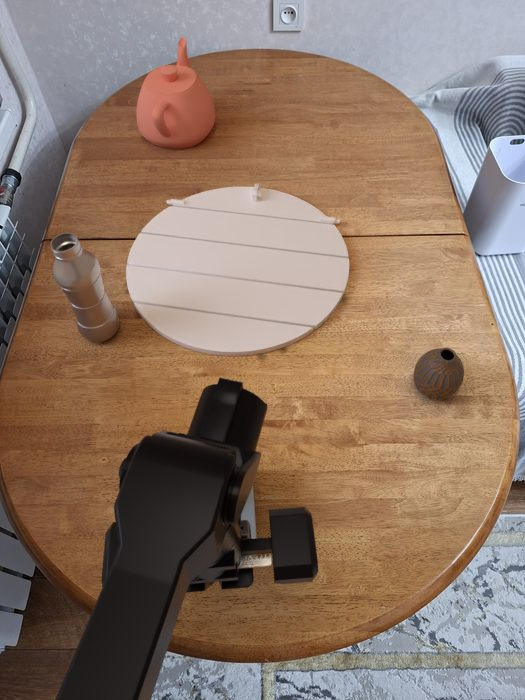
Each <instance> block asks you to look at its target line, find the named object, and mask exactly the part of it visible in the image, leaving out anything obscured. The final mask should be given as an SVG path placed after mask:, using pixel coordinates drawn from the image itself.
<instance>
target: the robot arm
mask: <svg viewBox="0 0 525 700" xmlns="http://www.w3.org/2000/svg"><path fill="white" fill-rule="evenodd" d="M268 408H269V407H268V404H267V402H265V401H264V400H262V398H261V397H260V396H259V395H256V394H255V393H254V392H252V391H251V390H248V389H246V388H244V383H243V381H238V380H235V379H230V378H226V377H225V378H224V377H219V378H218V381H217V383H214V384H213V383H212V384H210V385H207V386H206V387H204V388H203V389H202V391H201V394H200V397H199V400H198V402H197V405H196V408H195V411H194V413H193V416H192V419H191V422H190V425H189V428H188V430H187V433H181V432H175V431H170V430H165V429H163V430H161V431H157V432H154V433H153V434H152V435H149V434H147V435H145V436H144V437H143V438H142V439H141V440H140V442H138V443H136V444H135V445H134V446H132V447H131V449H130V450H129V452H128V453H127V455H126V457H125V458H123V460H122V462H121V463H120V465H119V468H118V478H119V482H118V489H119V490H118V493H117V496H116V499H115V501H114V505H113V512H114V519H115V521H112V523H111V524H110V526H109V527H108V528H107V530H106V532H105V534H104V545H103V558H102V568H101V590H100V593H99V595H98V597H97V599H96V601H95V604H94V606H93V609H92V611H91V614H90V616H89V619H88V621H87V623H86V625H85V627H84V631H83V633H82V635H81V637H80V640H79V642H78V645H77V647H76V649H75V651H74V654H73V656H72V659H71V661H70V663H69V666H68V668H67V671H66V673H65V675H64V677H63V680H62V682H61V685H60V687H59V689H58V692H57V694H56V697H55V699H54V700H152V698H153V694H154V691H155V688H156V686H157V682H158V680H159V676H160V673H161V669H162V668H163V664H164V660H165V657H166V654H167V651H168V648H169V645H170V642H171V640H172V636H173V633H174V630H175V628H176V624H177V621H178V618H179V615H180V612H181V609H182V605H183V603H184V600H185V597H186V594H187V593H196V592H206V590H208V589H209V588H210V587H211V586H213V585H214V584H215V583H219V585H220V589H221V590H232V589H245V588H250V587H251V586H252V585H253V584H254V580H255V576H254V569H256V568H257V569H258V568H269V567H272V570H273V583H274V584H276V585H277V584H278V585H290V584H291V585H293V584H302V583H312V582H313V581H314V579H315V578H316V577H317V575H318V573H319V561H318V560H319V559H318V553H317V552H318V551H317V546H316V545H317V544H316V537H315V529H314V528H315V527H314V520H313V516H312V512H310V510H309V509H308V508H306V507H305V506H299V507H287V508H274V509H273V508H272V509H268V521H269V532H270V536H268V537H257V538H255V539H252V538H251V528H250V524H249V521H248V520H241V514H242V511H243V509H244V506H245V504H246V501H247V499H248V496H249V493H250V491H251V488H252V486H254V483H255V480H256V476H257V473H258V470H259V465H260V461H261V457H262V452H261V451H257V447H258V444H259V441H260V437H261V433H262V431H263V426H264V422H265V419H266V415H267V413H268V412H267V411H268ZM255 554H258V555H256V558H254V556H253V555H255ZM267 554H268V555H267ZM259 555H260V556H259ZM263 555H264V557H263Z"/></svg>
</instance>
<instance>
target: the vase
mask: <svg viewBox="0 0 525 700" xmlns="http://www.w3.org/2000/svg"><path fill="white" fill-rule="evenodd" d="M464 377H465V366H464V363H463V361H462V359H461V358H460V356H459V355H458V354H457V353H456V351H455V350H454V349H452V348H450V347H441V348H440V347H439V348H438V347H437V348H434V349H430V350H428V351H426V352H425V353H424V354H422V356H421V357H419V359H418V360H417V362H416V364H415V366H414V370H413V382H414V385H415V387H416V389H417V391H418V392H419V393H420V394H421V395H422V396H424V397H425V398H427V399H430V400H434V401H441V400H445V399H448V398H451V397H452V396H454V395H455V394H456V393H457V392H458V391H459V389H460V388H461V387H462V384H463V382H464V379H465V378H464Z"/></svg>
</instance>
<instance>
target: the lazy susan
mask: <svg viewBox="0 0 525 700" xmlns="http://www.w3.org/2000/svg"><path fill="white" fill-rule="evenodd" d="M166 205H169V206H167V207H165V208H164V209H163V210H161V211H160V212H159V213H157V214H156V215H155V216H154V217H153V218H151V220H149V221H148V222H147V224H146V225H144V227H143V228H142V229H141V230H140V233H138V235H137V237H136V238H135V240H134V241H133V243H132V245H131V247H130V251H129V253H128V256H127V260H126V261H127V262H126V267H125V278H126V286H127V289H128V293H129V296H130V299H131V301H132V303H133V304H132V305H134V308H135V310H136V311H137V312H138V314H139V315H140V317H141V318H142V319H143V321H144V322H145V323H146V324H148V326H149V327H150V328H151V329H152V330H154V331H155V332H156V333H157V334H158V335H160V336H161V337H163V338H165V339H167V340H168V341H170V342H172V343H174V344H176V345H177V346H180V347H182V348H185V349H188V350H191V351H195V352H198V353H202V354H207V355H213V356H224V357H243V356H245V357H246V356H254V355H261V354H265V353H269V352H273V351H277V350H280V349H282V348H285V347H288V346H290V345H293V344H295V343H296V342H298V341H301V340H302V339H304V338H306V337H307V336H309V335H311V334H312V333H314V331H316V330H317V329H319V328H320V327H321V326H322V325H324V323H325V322H326V321H327V320H328V319H329V318H330V317H331V316H332V315H333V314H334V312H335V311H336V310H337V308H338V307H339V305H340V303H341V301H342V299H343V298H344V297H343V296H344V295H345V292H346V289H347V285H348V282H349V275H350V258H349V257H350V255H349V251H348V247H347V244H346V241H345V239H344V237H343V236H342V233H341V232H340V230H339V229H338V228H337V226H336V224H337V225H340V223H341V222H340V221H341V219H339V218H337V217H335V216H327V215H326V214H325V213H324V212H322V211H321V210H320V209H318V208H317V207H315V206H314V205H312V204H311V203H309V202H307V201H305V200H303V199H302V198H299V197H297V196H295V195H292V194H289V193H286V192H285V191H284V192H283V191H279V190H276V189H271V188H265V187H262V183H259V182H255V183H254V185H253V186H227V187H221V188H213V189H210V190H205V191H201V192H199V193H195V194H192V195H189V196H187V197H184V198H183V199H176V198H171V199H166Z"/></svg>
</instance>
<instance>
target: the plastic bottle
mask: <svg viewBox="0 0 525 700" xmlns="http://www.w3.org/2000/svg"><path fill="white" fill-rule="evenodd" d="M50 249H51V251H52V254H53V255H52V256H53V257H54V258H55V259H54V262H53V265H52V275H53V279H54V281H55V282H56V284H57V285H58V287H59V288H60V289H61V290H62V292H63V293H64V294H65V296H66V298H67V299H68V302H69V303H70V305H71V307H72V311H73V313H74V316H75V323H76V327H77V330H78V332H79V333H80V334H81V335H82V336H83V338H85V339H86V341H87V340H88V341H89V342H93V343H102V342H106V341H107V340H109V339H111V338H113V336H114V335H115V334H116V333H117V331H118V329H119V327H120V316H119V312H118V310H117V309H116V307H115V306H114V304H113V303H112V302H111V300H110V298H109V296H108V294H107V291H106V289H105V285H104V282H103V278H102V272H101V271H102V270H101V266H100V262H99V260H98V258H97V257H96V255H94V253H92V252H91V251H90V250H88V249H85V248H83V246H82V243H81V242H80V241H79V238H78V237H77V236H76V234H75V233H73V232H62V233H59V234H57V235H55V237H53V238H52V239H51V241H50Z"/></svg>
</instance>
